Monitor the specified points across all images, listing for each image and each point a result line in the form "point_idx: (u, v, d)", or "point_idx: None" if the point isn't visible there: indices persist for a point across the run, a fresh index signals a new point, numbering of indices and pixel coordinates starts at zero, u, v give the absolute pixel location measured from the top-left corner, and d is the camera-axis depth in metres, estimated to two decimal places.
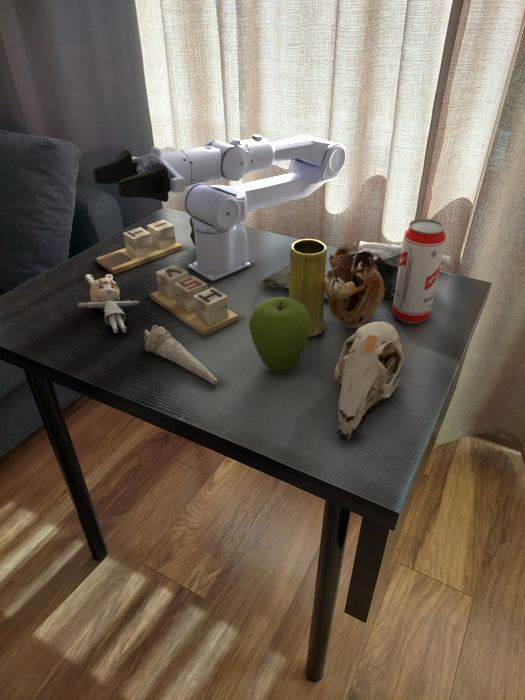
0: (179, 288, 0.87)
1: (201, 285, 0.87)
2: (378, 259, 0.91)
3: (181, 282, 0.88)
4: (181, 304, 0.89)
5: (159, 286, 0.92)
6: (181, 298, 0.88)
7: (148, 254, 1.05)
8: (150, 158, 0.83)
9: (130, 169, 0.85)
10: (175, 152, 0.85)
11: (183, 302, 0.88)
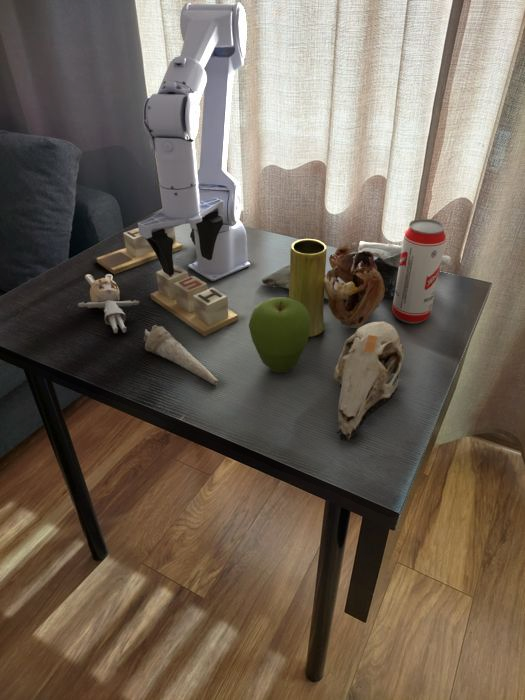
0: (179, 288, 0.87)
1: (201, 285, 0.87)
2: (378, 259, 0.91)
3: (181, 282, 0.88)
4: (181, 304, 0.89)
5: (159, 286, 0.92)
6: (181, 298, 0.88)
7: (148, 254, 1.05)
8: None
9: None
10: (191, 195, 0.77)
11: (183, 302, 0.88)
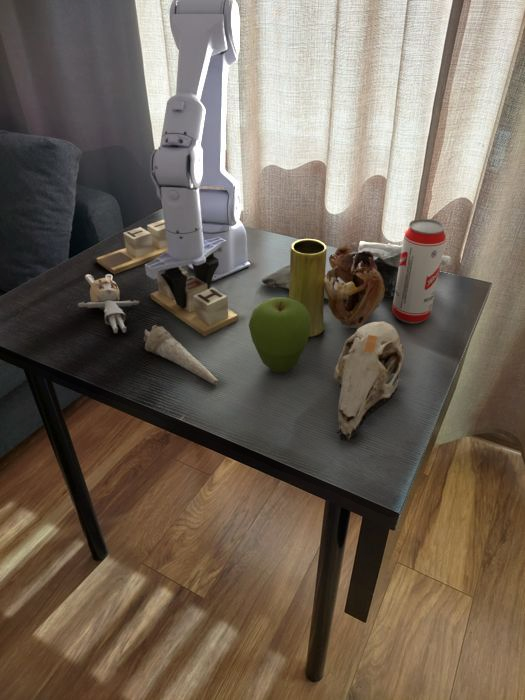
0: None
1: (201, 285, 0.87)
2: (378, 259, 0.91)
3: None
4: None
5: (159, 286, 0.92)
6: None
7: (148, 254, 1.05)
8: None
9: None
10: (196, 238, 0.81)
11: None
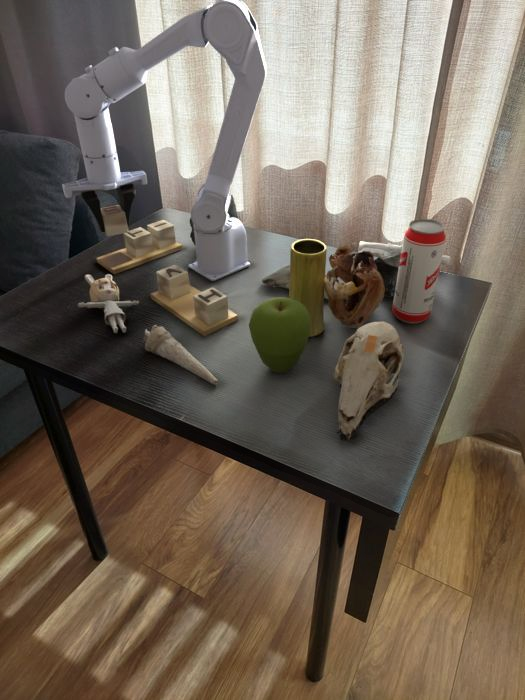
0: None
1: (119, 212, 0.95)
2: (378, 259, 0.91)
3: (104, 208, 0.97)
4: None
5: (159, 286, 0.92)
6: None
7: (148, 254, 1.05)
8: None
9: None
10: (106, 164, 0.89)
11: None
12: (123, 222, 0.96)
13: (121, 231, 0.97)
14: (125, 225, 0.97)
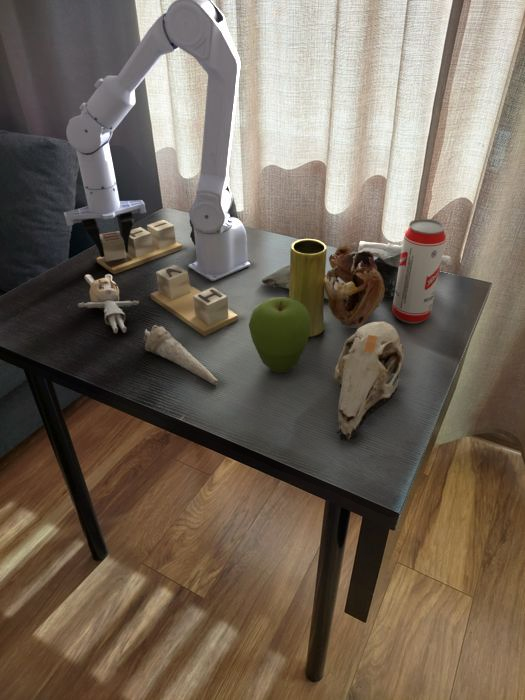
0: (100, 239, 1.01)
1: (117, 239, 1.00)
2: (378, 259, 0.91)
3: (104, 234, 1.01)
4: None
5: (159, 286, 0.92)
6: None
7: (148, 254, 1.05)
8: None
9: None
10: (105, 195, 0.93)
11: None
12: (122, 248, 1.01)
13: (119, 256, 1.02)
14: (123, 251, 1.01)
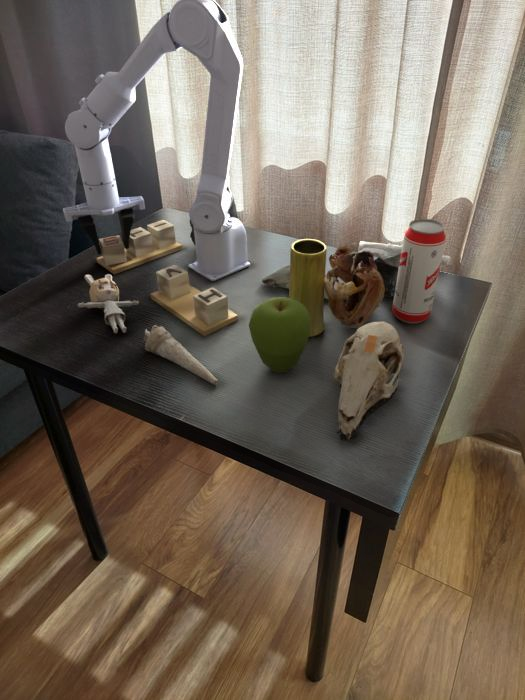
0: (100, 243, 1.01)
1: (117, 243, 1.00)
2: (378, 259, 0.91)
3: (104, 239, 1.02)
4: (103, 258, 1.03)
5: (159, 286, 0.92)
6: (102, 252, 1.02)
7: (148, 254, 1.05)
8: None
9: None
10: (104, 191, 0.93)
11: (103, 256, 1.02)
12: (122, 252, 1.01)
13: (120, 261, 1.02)
14: (123, 255, 1.02)
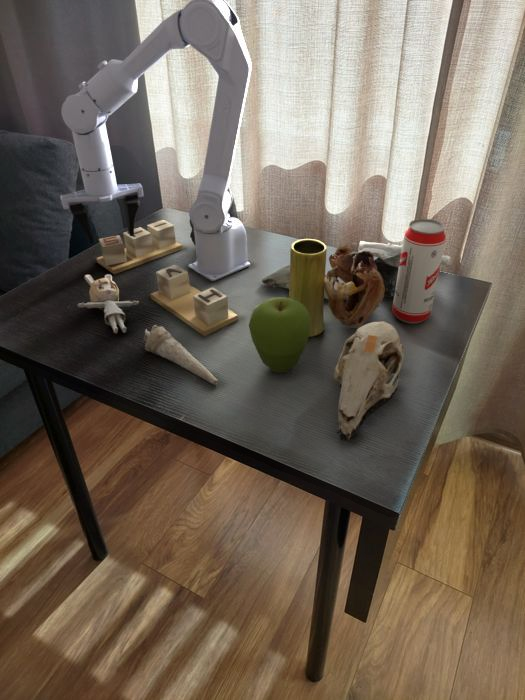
0: (100, 243, 1.01)
1: (117, 243, 1.00)
2: (378, 259, 0.91)
3: (104, 239, 1.02)
4: (103, 258, 1.03)
5: (159, 286, 0.92)
6: (102, 252, 1.02)
7: (148, 254, 1.05)
8: None
9: None
10: (102, 177, 0.91)
11: (103, 256, 1.02)
12: (122, 252, 1.01)
13: (120, 261, 1.02)
14: (123, 255, 1.02)
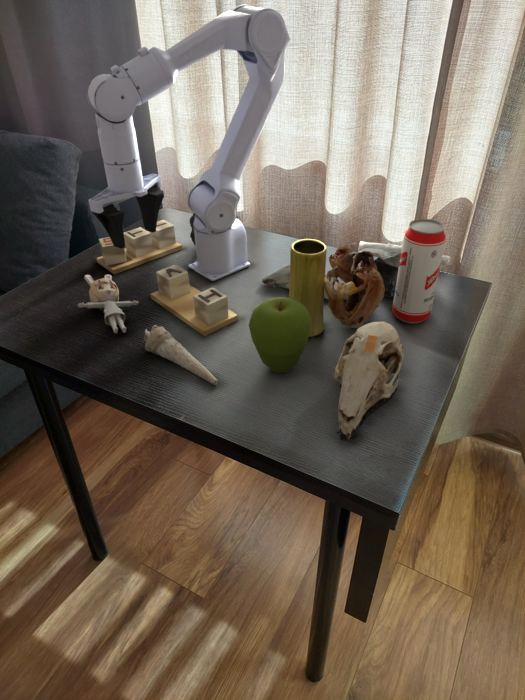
0: (100, 243, 1.01)
1: None
2: (378, 259, 0.91)
3: (104, 239, 1.02)
4: (103, 258, 1.03)
5: (159, 286, 0.92)
6: (102, 252, 1.02)
7: (148, 254, 1.05)
8: None
9: None
10: (136, 169, 0.83)
11: (103, 256, 1.02)
12: (122, 252, 1.01)
13: (120, 261, 1.02)
14: (123, 255, 1.02)
